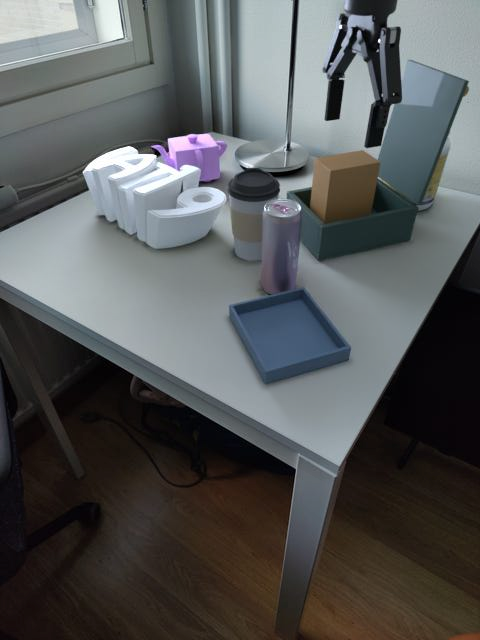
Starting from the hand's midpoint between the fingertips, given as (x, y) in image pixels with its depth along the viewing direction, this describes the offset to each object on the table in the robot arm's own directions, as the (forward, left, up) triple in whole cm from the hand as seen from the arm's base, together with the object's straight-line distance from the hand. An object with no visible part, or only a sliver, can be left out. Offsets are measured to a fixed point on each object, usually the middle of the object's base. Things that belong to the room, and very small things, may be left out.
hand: (351, 132), depth 79 cm
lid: (0, -13, -2) cm, 13 cm away
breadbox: (0, -2, -20) cm, 20 cm away
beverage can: (-12, +18, -20) cm, 30 cm away
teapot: (+36, +20, -20) cm, 46 cm away
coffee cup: (0, +18, -20) cm, 27 cm away
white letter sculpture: (+20, +33, -20) cm, 43 cm away
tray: (-24, +22, -20) cm, 38 cm away
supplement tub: (+7, -21, -20) cm, 30 cm away
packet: (0, 0, -19) cm, 19 cm away
